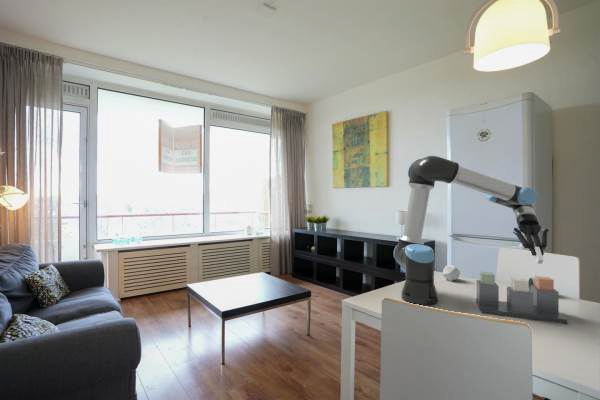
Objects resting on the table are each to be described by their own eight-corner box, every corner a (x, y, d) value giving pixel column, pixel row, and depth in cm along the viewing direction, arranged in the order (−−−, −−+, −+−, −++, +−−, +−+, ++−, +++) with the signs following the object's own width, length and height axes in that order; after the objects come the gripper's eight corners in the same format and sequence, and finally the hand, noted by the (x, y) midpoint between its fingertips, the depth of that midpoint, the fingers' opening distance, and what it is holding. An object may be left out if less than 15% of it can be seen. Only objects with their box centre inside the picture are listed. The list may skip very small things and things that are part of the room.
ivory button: (514, 302, 111) (514, 280, 111) (510, 299, 115) (511, 277, 115) (528, 304, 109) (528, 281, 109) (524, 300, 113) (524, 278, 113)
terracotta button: (539, 300, 113) (539, 278, 113) (535, 297, 117) (535, 276, 117) (553, 302, 111) (553, 280, 111) (548, 298, 115) (548, 277, 115)
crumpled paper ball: (462, 283, 155) (464, 267, 160) (450, 276, 153) (452, 260, 158) (450, 285, 162) (451, 269, 167) (438, 278, 160) (440, 262, 165)
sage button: (482, 294, 120) (482, 274, 120) (480, 291, 124) (480, 271, 124) (494, 296, 118) (494, 275, 118) (492, 292, 122) (492, 272, 122)
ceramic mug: (554, 297, 132) (554, 280, 132) (533, 295, 134) (533, 279, 134) (544, 291, 141) (544, 275, 141) (525, 289, 144) (525, 274, 144)
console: (481, 312, 114) (481, 288, 114) (475, 301, 126) (475, 279, 126) (567, 323, 104) (567, 297, 104) (551, 310, 116) (551, 286, 116)
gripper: (541, 224, 135) (557, 268, 120) (507, 223, 140) (519, 265, 124) (545, 213, 130) (563, 257, 115) (511, 212, 135) (523, 255, 119)
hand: (540, 261), depth 119 cm, fingers closed
